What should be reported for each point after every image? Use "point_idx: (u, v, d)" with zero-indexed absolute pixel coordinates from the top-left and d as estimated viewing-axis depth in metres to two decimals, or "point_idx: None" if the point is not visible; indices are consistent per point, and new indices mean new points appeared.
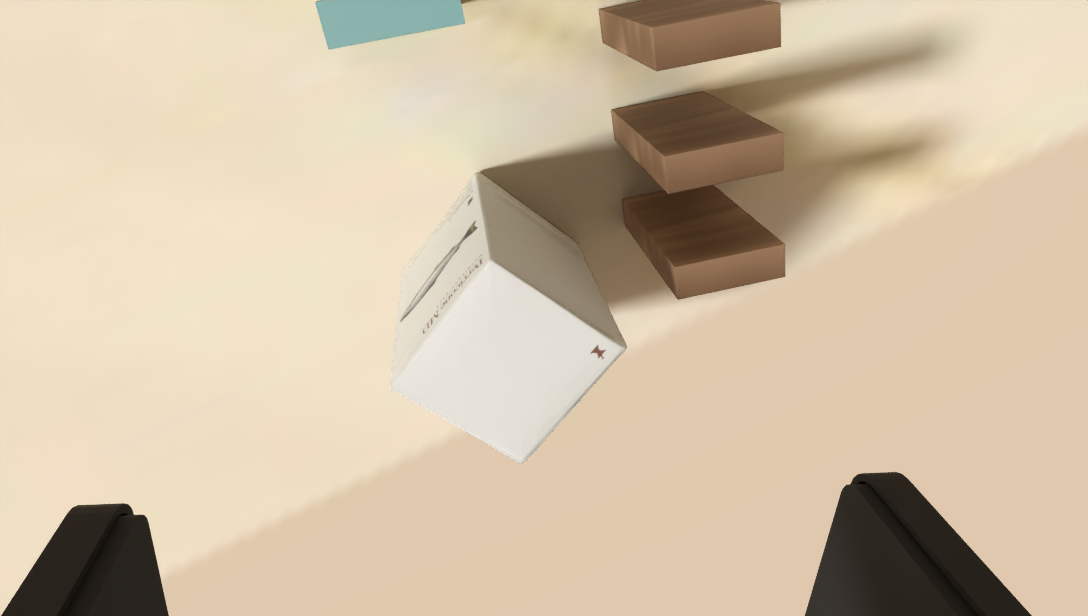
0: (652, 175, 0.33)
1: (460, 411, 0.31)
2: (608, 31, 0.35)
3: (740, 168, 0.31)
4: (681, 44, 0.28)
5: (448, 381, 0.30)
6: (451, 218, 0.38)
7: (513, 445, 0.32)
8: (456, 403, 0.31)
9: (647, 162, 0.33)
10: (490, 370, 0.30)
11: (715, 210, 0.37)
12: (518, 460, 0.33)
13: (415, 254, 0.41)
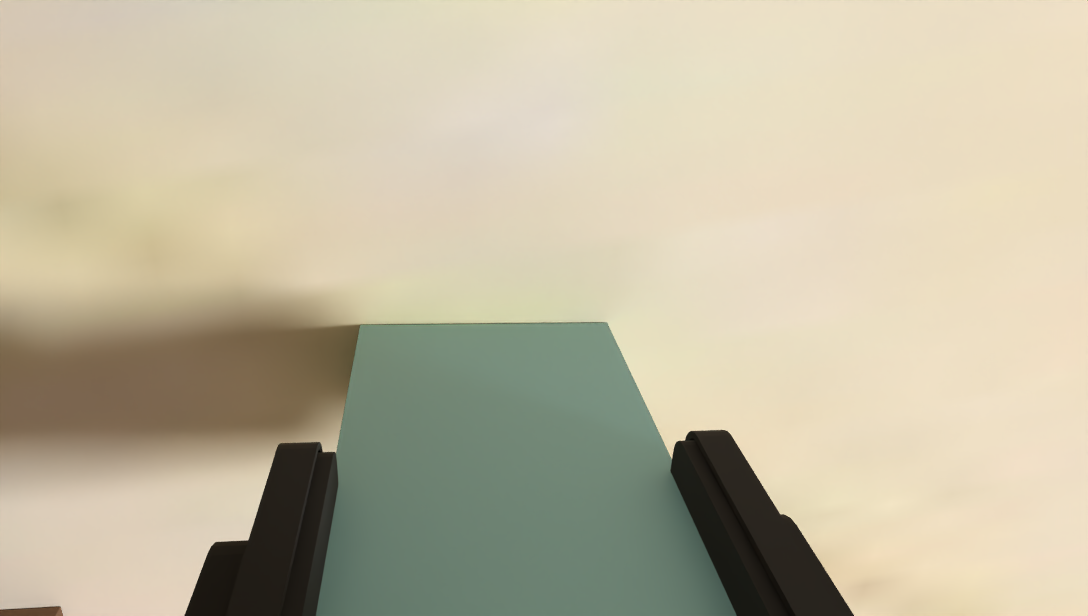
0: None
1: None
2: None
3: None
4: None
5: None
6: None
7: None
8: None
9: None
10: None
11: None
12: None
13: None
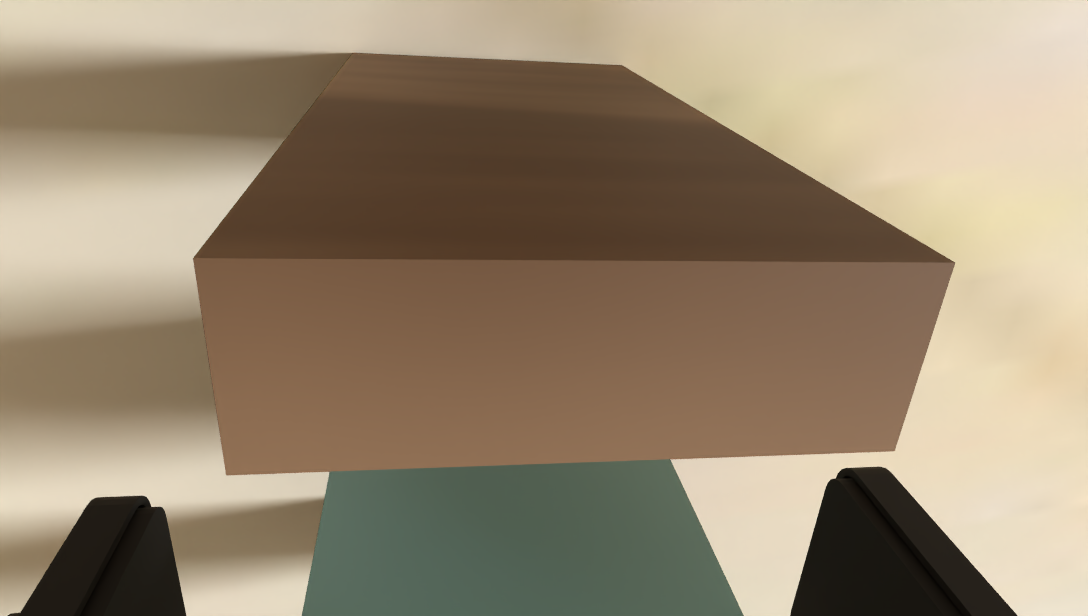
0: None
1: None
2: None
3: None
4: (789, 364, 0.05)
5: None
6: None
7: None
8: None
9: None
10: None
11: None
12: None
13: None
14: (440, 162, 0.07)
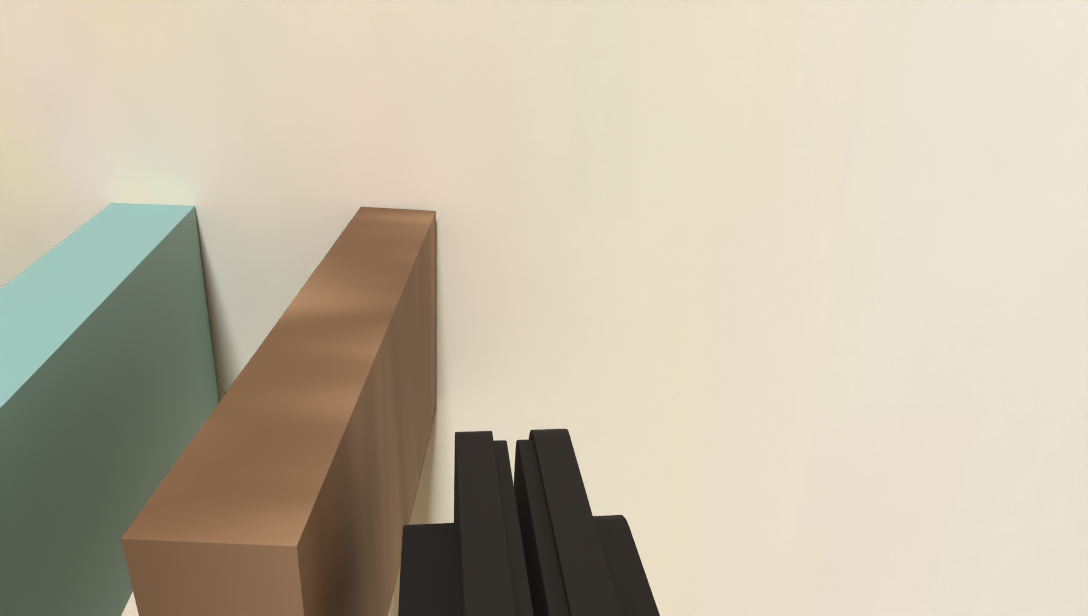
0: None
1: None
2: None
3: None
4: None
5: None
6: None
7: None
8: None
9: None
10: None
11: None
12: None
13: None
14: None
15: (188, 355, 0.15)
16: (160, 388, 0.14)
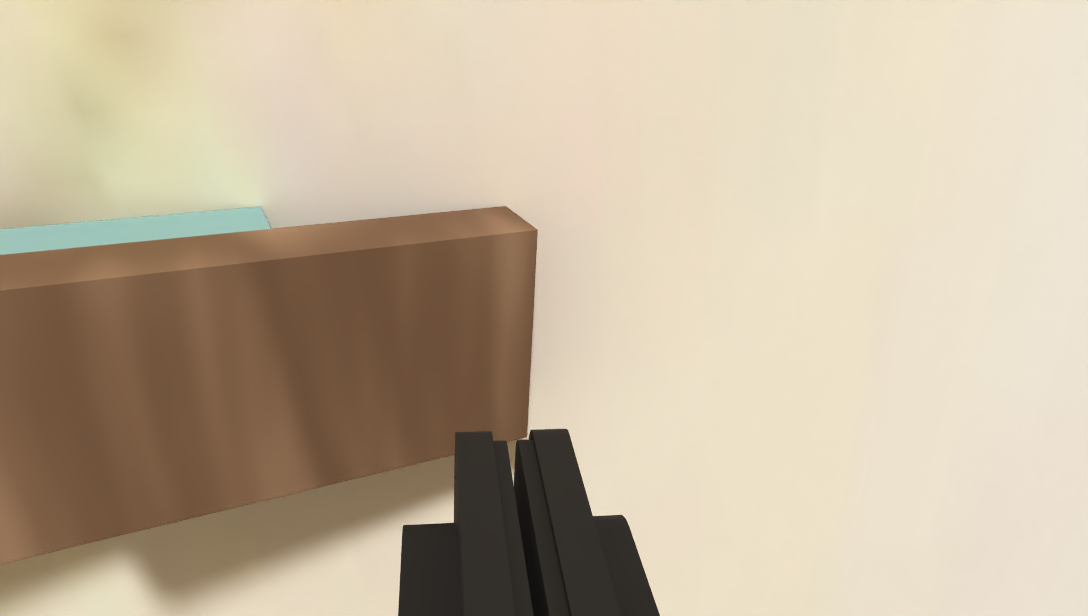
0: None
1: None
2: None
3: None
4: None
5: None
6: None
7: None
8: None
9: None
10: None
11: None
12: None
13: None
14: None
15: None
16: None
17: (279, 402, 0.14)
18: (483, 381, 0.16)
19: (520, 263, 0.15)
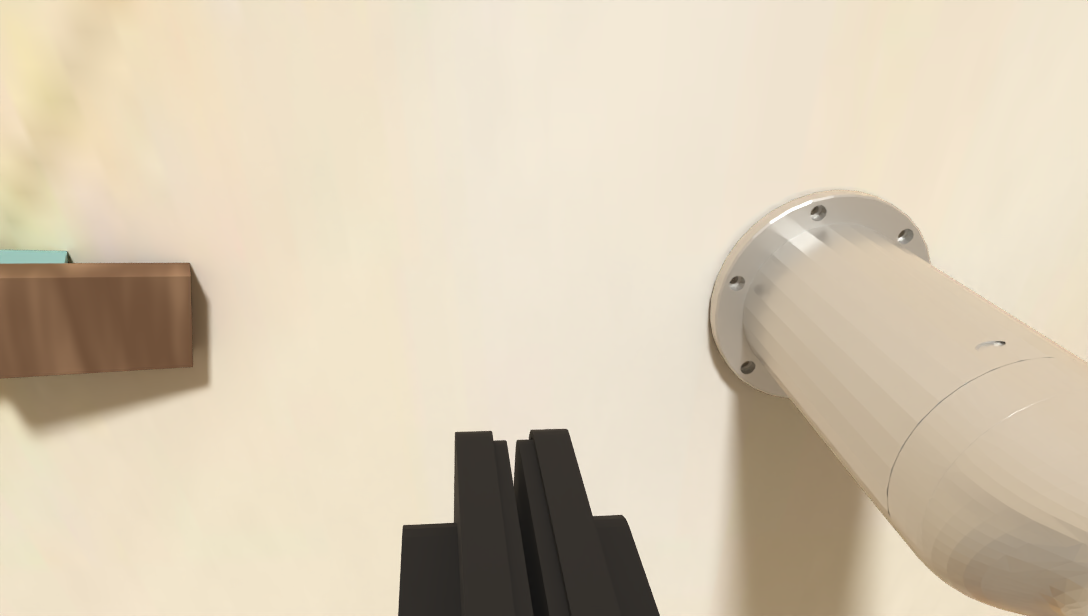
0: None
1: None
2: None
3: None
4: None
5: None
6: None
7: None
8: None
9: None
10: None
11: None
12: None
13: None
14: None
15: None
16: None
17: (66, 333, 0.34)
18: (167, 337, 0.36)
19: (182, 289, 0.35)
